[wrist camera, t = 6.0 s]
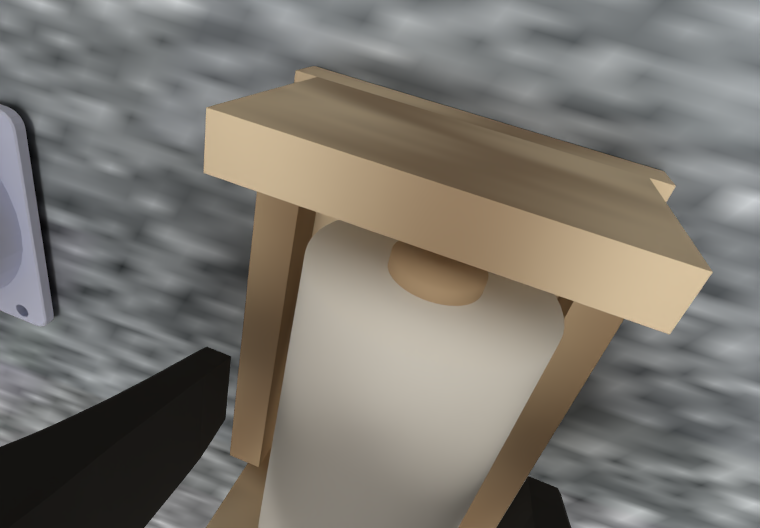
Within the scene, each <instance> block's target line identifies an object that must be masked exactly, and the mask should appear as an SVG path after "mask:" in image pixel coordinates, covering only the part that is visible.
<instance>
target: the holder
mask: <svg viewBox="0 0 760 528" xmlns="http://www.w3.org/2000/svg"><path fill="white" fill-rule="evenodd" d="M204 173H206V174H208V175H211V176H214V177H217V178H220V179H223V180H226V181H229V182H232V183H234V184H237V185H240V186H243V187H246V188H249V189H252V190H255V191H257V197H256V207H255V216H254V226H253V236H252V245H251V255H250V265H249V274H248V284H247V294H246V303H245V313H244V323H243V333H242V342H241V352H240V362H239V371H238V381H237V391H236V400H235V410H234V420H233V429H232V439H231V449H230V455H232V456H234V457H236V458H238V459H241V460H243V461H245V462H248V464H247V465H246V467H245V468H244V470H243V472H242V473H241V475H240V476H239V478H238V479H237V481H236V482H235V484H234V485H233V487H232V488H231V490H230V491H229V493H228V495H227V496H226V498H225V499H224V501H223V502H222V504H221V505H220V507H219V508H218V510H217V511H216V513H215V514H214V516H213V518H212V519H211V521H210V522H209V524H208V525H207V527H206V528H258V524H259V517H260V512H261V506H262V500H263V494H264V488H265V482H266V477H267V471H268V465H269V459H270V453H271V448H272V442H273V436H274V430H275V424H276V418H277V413H278V407H279V401H280V395H281V389H282V383H283V378H284V372H285V366H286V360H287V354H288V348H289V343H290V337H291V331H292V325H293V319H294V313H295V308H296V302H297V296H298V290H299V284H300V279H301V273H302V267H303V261H304V255H305V251H306V248H307V245H308V243H309V241H310V240H311V238H312V237H313V236H314V235H315V234H316V233H317V232H318V231H319V230H320V229H321V228H323V227H325V226H326V225H328V224H330V223H332V222H334V221H336V220H341V221H344V222H347V223H350V224H353V225H356V226H358V227H361V228H364V229H367V230H370V231H373V232H376V233H379V234H382V235H384V236H387V237H390V238H393V239H396V240H399V241H402V242H405V243H407V244H410V245H413V246H416V247H419V248H422V249H425V250H428V251H431V252H433V253H436V254H439V255H442V256H445V257H448V258H451V259H454V260H457V261H459V262H462V263H465V264H468V265H471V266H474V267H477V268H480V269H482V270H485V271H488V272H491V273H494V274H497V275H500V276H503V277H506V278H508V279H511V280H514V281H517V282H520V283H523V284H526V285H529V286H532V287H534V288H537V289H540V290H543V291H546V292H549V293H552V294H554V295H555V296H556V298H557V300H558V302H559V304H560V306H561V309H562V312H563V316H564V332H563V336H562V338H561V340H560V342H559V345H558V346H557V348H556V350H555V352H554V354H553V355H552V357H551V359H550V361H549V363H548V365H547V366H546V368H545V370H544V372H543V374H542V376H541V377H540V379H539V381H538V383H537V385H536V387H535V388H534V390H533V392H532V394H531V396H530V398H529V399H528V401H527V403H526V405H525V407H524V408H523V410H522V412H521V414H520V416H519V418H518V419H517V421H516V423H515V425H514V427H513V429H512V430H511V432H510V434H509V436H508V438H507V440H506V441H505V443H504V445H503V447H502V449H501V451H500V452H499V454H498V456H497V458H496V460H495V462H494V463H493V465H492V467H491V469H490V471H489V472H488V474H487V476H486V478H485V480H484V482H483V483H482V485H481V487H480V489H479V491H478V493H477V494H476V496H475V498H474V500H473V502H472V504H471V505H470V507H469V509H468V511H467V513H466V515H465V516H464V518H463V520H462V522H461V524H460V525H459V527H458V528H496V527H497V525H498V523H499V522H500V520H501V519H502V517H503V515H504V514H505V512H506V510H507V509H508V507H509V506H510V504H511V502H512V501H513V499H514V497H515V496H516V494H517V493H518V491H519V489H520V488H521V486H522V484H523V483H524V481H525V479H526V478H527V476H528V475H529V473H530V471H531V470H532V468H533V466H534V465H535V463H536V462H537V460H538V458H539V457H540V455H541V453H542V452H543V450H544V449H545V447H546V445H547V444H548V442H549V440H550V439H551V437H552V436H553V434H554V432H555V431H556V429H557V427H558V426H559V424H560V422H561V421H562V419H563V418H564V416H565V414H566V413H567V411H568V409H569V408H570V406H571V405H572V403H573V401H574V400H575V398H576V396H577V395H578V393H579V392H580V390H581V388H582V387H583V385H584V383H585V382H586V380H587V379H588V377H589V375H590V374H591V372H592V370H593V369H594V367H595V366H596V364H597V362H598V361H599V359H600V357H601V356H602V354H603V352H604V351H605V349H606V348H607V346H608V344H609V343H610V341H611V339H612V338H613V336H614V335H615V333H616V331H617V330H618V328H619V326H620V325H621V323H622V322H623V320H624V319H627V320H630V321H632V322H635V323H638V324H641V325H644V326H647V327H650V328H653V329H656V330H658V331H661V332H664V333H667V334H670V333H671V332H672V330H673V329H674V327H675V326H676V325H677V323H678V322H679V320H680V319H681V317H682V316H683V314H684V313H685V312H686V310H687V309H688V307H689V306H690V304H691V303H692V301H693V300H694V298H695V297H696V296H697V294H698V293H699V291H700V290H701V288H702V287H703V285H704V284H705V283H706V281H707V280H708V278H709V277H710V275H711V274H712V270H711V269H710V267H709V266H708V264H707V263H706V261H705V260H704V258H703V257H702V255H701V254H700V252H699V251H698V249H697V248H696V246H695V245H694V244H693V242H692V241H691V239H690V238H689V236H688V235H687V233H686V232H685V230H684V229H683V227H682V226H681V224H680V223H679V221H678V220H677V218H676V217H675V215H674V214H673V212H672V211H671V209H670V208H669V206H668V205H667V203H666V202H667V200H668V199H669V197H670V195H671V193H672V192H673V190H674V188H675V184H674V183H673V182H672V181H671V179H670V178H669V177H668V176H667V174H666V173H665V172H664V171H661V170H658V169H654V168H651V167H648V166H644V165H641V164H638V163H634V162H631V161H628V160H624V159H621V158H618V157H615V156H611V155H608V154H605V153H601V152H598V151H595V150H591V149H588V148H585V147H581V146H578V145H575V144H571V143H568V142H565V141H561V140H558V139H555V138H551V137H548V136H545V135H541V134H538V133H535V132H532V131H528V130H525V129H522V128H518V127H515V126H512V125H508V124H505V123H502V122H498V121H495V120H492V119H488V118H485V117H482V116H478V115H475V114H472V113H468V112H465V111H462V110H458V109H455V108H452V107H449V106H445V105H442V104H439V103H435V102H432V101H429V100H425V99H422V98H419V97H415V96H412V95H409V94H405V93H402V92H399V91H395V90H392V89H389V88H385V87H382V86H379V85H375V84H372V83H369V82H366V81H362V80H359V79H356V78H352V77H349V76H346V75H342V74H339V73H336V72H332V71H329V70H326V69H322V68H319V67H316V66H313V67H308V68H304V69H299V70H296V72H295V80H294V83H293V84H289V85H286V86H282V87H278V88H275V89H271V90H268V91H264V92H260V93H257V94H253V95H250V96H246V97H242V98H239V99H235V100H231V101H228V102H224V103H221V104H217V105H213V106H210V107H206V128H205V152H204Z"/></svg>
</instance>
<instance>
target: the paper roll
mask: <svg viewBox="0 0 760 528" xmlns="http://www.w3.org/2000/svg"><path fill="white" fill-rule="evenodd" d="M563 332H564V316H563V312H562V309H561V306H560V304H559V302H558V300H557V298H556V296H555V295H554V294H552V293H549V292H546V291H543V290H540V289H537V288H534V287H532V286H529V285H526V284H523V283H520V282H517V281H514V280H511V279H508V278H506V277H503V276H500V275H497V274H494V273H491V272H488V271H485V270H482V269H480V268H477V267H474V266H471V265H468V264H465V263H462V262H459V261H457V260H454V259H451V258H448V257H445V256H442V255H439V254H436V253H433V252H431V251H428V250H425V249H422V248H419V247H416V246H413V245H410V244H407V243H405V242H402V241H399V240H396V239H393V238H390V237H387V236H384V235H382V234H379V233H376V232H373V231H370V230H367V229H364V228H361V227H358V226H356V225H353V224H350V223H347V222H344V221H341V220H336V221H334V222H332V223H330V224H328V225H326V226H325V227H323V228H321V229H320V230H319V231H318V232H317V233H316V234H315V235H314V236H313V237H312V238H311V240H310V241H309V243H308V245H307V248H306V251H305V255H304V261H303V267H302V273H301V279H300V284H299V290H298V296H297V302H296V308H295V313H294V319H293V325H292V331H291V337H290V343H289V348H288V354H287V360H286V366H285V372H284V378H283V383H282V389H281V395H280V401H279V407H278V413H277V418H276V424H275V430H274V436H273V442H272V448H271V453H270V459H269V465H268V471H267V477H266V482H265V488H264V494H263V500H262V506H261V512H260V517H259V524H258V528H458V527H459V525H460V524H461V522H462V520H463V518H464V516H465V515H466V513H467V511H468V509H469V507H470V505H471V504H472V502H473V500H474V498H475V496H476V494H477V493H478V491H479V489H480V487H481V485H482V483H483V482H484V480H485V478H486V476H487V474H488V472H489V471H490V469H491V467H492V465H493V463H494V462H495V460H496V458H497V456H498V454H499V452H500V451H501V449H502V447H503V445H504V443H505V441H506V440H507V438H508V436H509V434H510V432H511V430H512V429H513V427H514V425H515V423H516V421H517V419H518V418H519V416H520V414H521V412H522V410H523V408H524V407H525V405H526V403H527V401H528V399H529V398H530V396H531V394H532V392H533V390H534V388H535V387H536V385H537V383H538V381H539V379H540V377H541V376H542V374H543V372H544V370H545V368H546V366H547V365H548V363H549V361H550V359H551V357H552V355H553V354H554V352H555V350H556V348H557V346H558V345H559V342H560V340H561V338H562V336H563Z"/></svg>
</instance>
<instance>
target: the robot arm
mask: <svg viewBox="0 0 760 528" xmlns="http://www.w3.org/2000/svg"><path fill="white" fill-rule="evenodd" d="M0 311H3V312H5V313H8V314H10V315H12V316H15V317H17V318H20V319H22V320H24V321H27V322H29V323H31V324H34V325H37V326H45V325H46V324H48V323H49V322H51V321H52V320H53V316H54V313H53V307H52V300H51V294H50V287H49V280H48V274H47V267H46V261H45V254H44V247H43V241H42V234H41V228H40V221H39V214H38V208H37V201H36V195H35V188H34V181H33V175H32V168H31V162H30V155H29V148H28V142H27V135H26V129H25V125H24V122H23V120H22V119H21V117H20V116H19V115H18V114H17V113H16V112H15V111H14V110H13V109H11V108H9V107H7V106H4V105H1V104H0ZM230 362H231V356H228V355H226V354H223V353H221V352H218V351H216V350H214V349H211V348H209V347H205V348H203V349H201V350H199V351H197V352H195V353H194V354H192V355H190V356H188V357H186V358H184V359H183V360H181V361H179V362H177V363H175V364H174V365H172V366H170V367H168V368H166V369H164V370H163V371H161V372H159V373H157V374H155V375H153V376H151V377H150V378H148V379H146V380H144V381H142V382H140V383H138V384H136V385H134V386H132V387H131V388H129V389H127V390H125V391H123V392H121V393H119V394H117V395H115V396H113V397H111V398H109V399H107V400H105V401H103V402H101V403H99V404H97V405H95V406H93V407H91V408H89V409H86V410H84V411H82V412H80V413H78V414H76V415H74V416H71V417H69V418H67V419H65V420H63V421H61V422H59V423H56V424H54V425H52V426H50V427H47V428H45V429H43V430H40V431H38V432H36V433H33V434H31V435H29V436H26V437H24V438H21V439H19V440H16V441H14V442H11V443H9V444H6V445H4V446H1V447H0V528H144V527H145V526H146V525H147V524H148V522H149V521H150V520H151V519H152V517H153V516H154V515H155V514H156V512H157V511H158V510H159V509H160V508H161V506H162V505H163V504H164V503H165V501H166V500H167V499H168V498H169V497H170V495H171V494H172V493H173V492H174V490H175V489H176V488H177V487H178V485H179V484H180V483H181V482H182V480H183V479H184V478H185V477H186V475H187V474H188V473H189V472H190V471H191V469H192V468H193V467H194V465H195V464H196V463H197V462H198V460H199V459H200V458H201V456H202V455H203V453H204V452H205V450H206V448H207V447H208V445H209V444H210V442H211V441H212V439H213V438H214V436H215V434H216V433H217V431H218V430H219V428H220V426H221V425H222V423H223V422H224V420H225V417H226V406H227V395H228V384H229V373H230ZM497 528H571V525H570V522H569V519H568V516H567V513H566V510H565V506H564V503H563V500H562V497H561V494H560V492H559V490H558V488H556V487H554V486H551V485H549V484H546V483H544V482H541V481H539V480H536V479H534V478H531V477H529V476H528V477H527V479H526V481H525V482H524V484H523V485H522V487H521V489H520V490H519V492H518V494H517V495H516V497H515V498H514V500H513V502H512V503H511V505H510V507H509V508H508V510H507V511H506V513H505V515H504V516H503V518H502V520H501V521H500V523H499V524H498V526H497Z"/></svg>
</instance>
